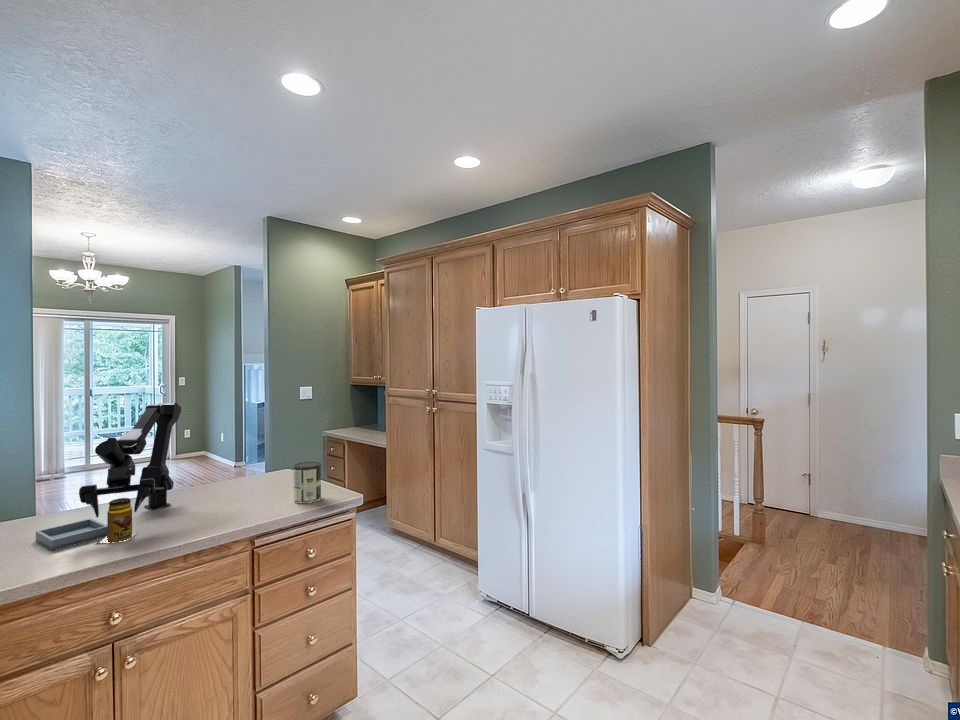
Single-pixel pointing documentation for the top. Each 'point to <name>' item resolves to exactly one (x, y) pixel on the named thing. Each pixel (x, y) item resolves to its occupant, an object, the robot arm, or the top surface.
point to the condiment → (119, 520)
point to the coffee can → (307, 482)
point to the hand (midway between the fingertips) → (116, 514)
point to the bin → (71, 534)
